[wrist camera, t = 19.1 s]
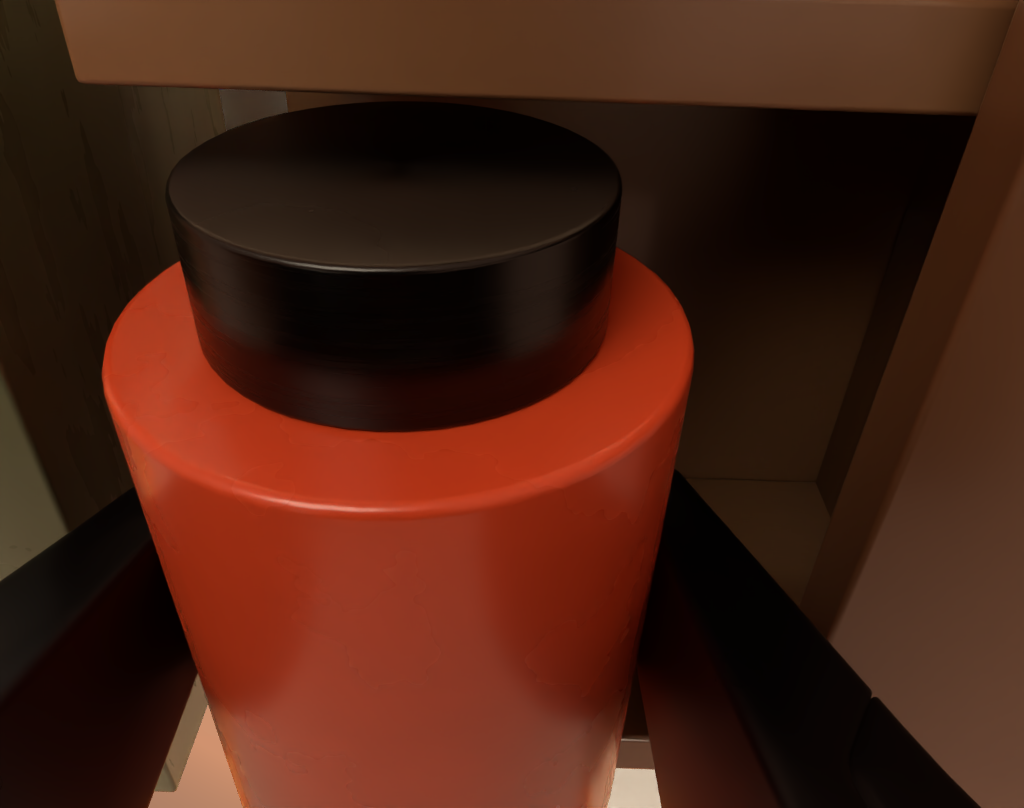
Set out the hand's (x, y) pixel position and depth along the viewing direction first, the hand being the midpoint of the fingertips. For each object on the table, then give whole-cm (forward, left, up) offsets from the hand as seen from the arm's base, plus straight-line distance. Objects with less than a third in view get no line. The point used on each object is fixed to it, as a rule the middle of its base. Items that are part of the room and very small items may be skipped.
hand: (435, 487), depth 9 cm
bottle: (0, 0, -1) cm, 1 cm away
